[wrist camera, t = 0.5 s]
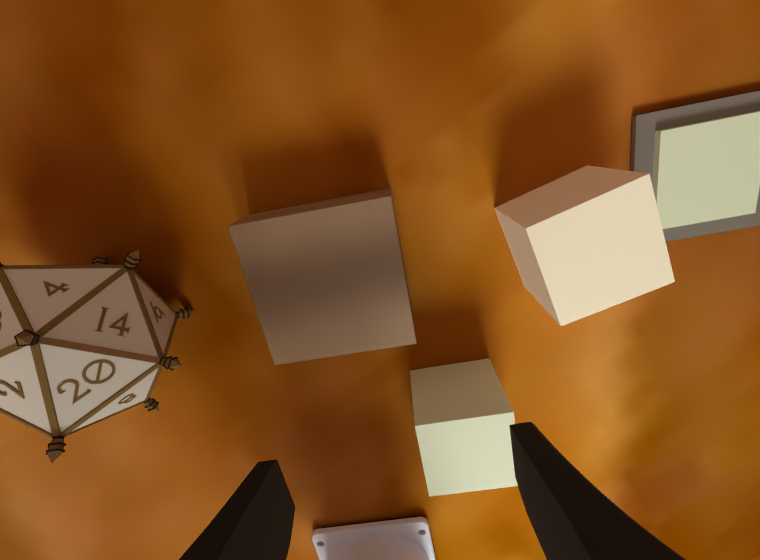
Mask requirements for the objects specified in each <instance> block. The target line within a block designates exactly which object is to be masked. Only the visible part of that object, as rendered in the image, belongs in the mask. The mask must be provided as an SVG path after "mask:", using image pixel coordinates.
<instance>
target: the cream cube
mask: <svg viewBox="0 0 760 560" xmlns="http://www.w3.org/2000/svg"><path fill="white" fill-rule="evenodd" d="M494 209H495V212H496V214H497V217H498V219H499V222H500V225H501V227H502V230H503V233H504V235H505V238H506V240H507V243H508V246H509V248H510V251H511V253H512V256H513V259H514V261H515V264H516V267H517V269H518V272H519V274H520V277H521V280H522V282H523V285H524V287H525V288H526V289H527V290H528V291H529V292H530V293H531V294H532V296H533V297H534V298H535V299H536V300H537V301H538V302H539V303H540V304H541V305H542V306H543V307H544V309H545V310H546V311H547V312H548V313H549V314H550V315H551V316H552V317H553V318H554V319H555V320H556V322H557V323H558V324H559V325H560V326H563V325H566V324H568V323H571V322H573V321H576V320H578V319H581V318H584V317H586V316H589V315H591V314H594V313H596V312H599V311H601V310H604V309H607V308H609V307H612V306H614V305H617V304H619V303H622V302H624V301H627V300H630V299H632V298H635V297H637V296H640V295H642V294H645V293H647V292H650V291H653V290H655V289H658V288H660V287H663V286H665V285H668V284H670V283H673V282H675V281H674V276H673V272H672V268H671V263H670V259H669V255H668V251H667V246H666V242H665V238H664V234H663V229H662V225H661V221H660V216H659V212H658V208H657V204H656V199H655V195H654V191H653V187H652V182H651V178H650V174H649V173H641V172H634V171H626V170H619V169H611V168H604V167H596V166H589V165H587V166H584V167H582V168H580V169H578V170H576V171H574V172H571V173H569V174H567V175H565V176H563V177H560V178H558V179H556V180H554V181H552V182H550V183H547V184H545V185H543V186H541V187H539V188H536V189H534V190H532V191H530V192H528V193H526V194H523V195H521V196H519V197H517V198H515V199H513V200H510V201H508V202H506V203H504V204H502V205H499V206H497V207H495V208H494Z"/></svg>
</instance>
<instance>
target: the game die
mask: <svg viewBox="0 0 760 560" xmlns="http://www.w3.org/2000/svg"><path fill="white" fill-rule="evenodd" d="M93 261H94V262H93V263H92V264H93V265H10V266H4V265H2V264H1V262H0V413H2V414H4V415H7V416H9V417H11V418H13V419H15V420H17V421H19V422H21V423H23V424H25V425H27V428H28V427H31V428H33V429H35V430H37V431H39V432H41V433H43V434H45V435H47V436H49V437H51V438H53V439H52V441H51V443H49V444H48V450H46V455H48V456H49V458H50V461H51V463H53V462H54V461H55V460H56V459H57V458H58V457H59V455H60V454H61V453H63V452H65V450H63V449H64V446H65V445H66V444H65V443H64V437H65V436H67V435H69V434H72V433H74V432H76V431H79V430H81V429H83V428H86V427H88V426H90V425H92V424H95V423H97V422H99V421H102V420H104V419H106V418H109V417H111V416H113V415H115V414H118V413H120V412H122V411H125V410H127V409H129V408H132V407H134V406H136V405H138V404H141V403H144V404H145V408H147V409H148V411H159V407H158V404H159V402H157V401H155V399H153V398H152V399H151V398H150V395H151V392H152V390H153V388H154V385H155V383H156V381H157V379H158V376H159V374H160V372H161V369H162V367H163V366H164V367H165V368H166V369H168V368H169V369H171V370H172V371H173V370H174V369H175V368H177V367H180V366H182V365H181V364H180V362H179V361H178V358H177V357H174V358H173V357H172V356H170V357H167V358H166V356H167V353H168V350H169V346H170V343H171V339H172V336H173V333H174V329H175V326H176V322H177V319H178V318H185V317H189V315H190V314H191V313H192V312H193V311H194V310H191V309H188V308H186V307H184V309H180V310H179V311H177V312H175V311H174V310H173V309H172V308H171V307H170V306H169V305H168V304H167V303H166V302H165V301H164V300H163V299H162V298H161V297H160V296H159V295H158V294H157V293H156V292H155V291H154V290H153V289H152V288H151V287H150V286H149V285H148V284H147V283H146V282H145V281H144V280H143V279H142V278H141V277H140V276H139V275H138V274H137V273H136V272H135V271H134V270H133V267H134V266H135V265H138V262H139V261H141V259H140V255H139V249H138V250H136V251H134V252H132V253H128V254H127V257H126V258H125V260H124V261H125V264H124V265H105V264H106V259H105V258H104V257H103V256H102V255H101V256H99V257H97V258H95V259H93Z"/></svg>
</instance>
